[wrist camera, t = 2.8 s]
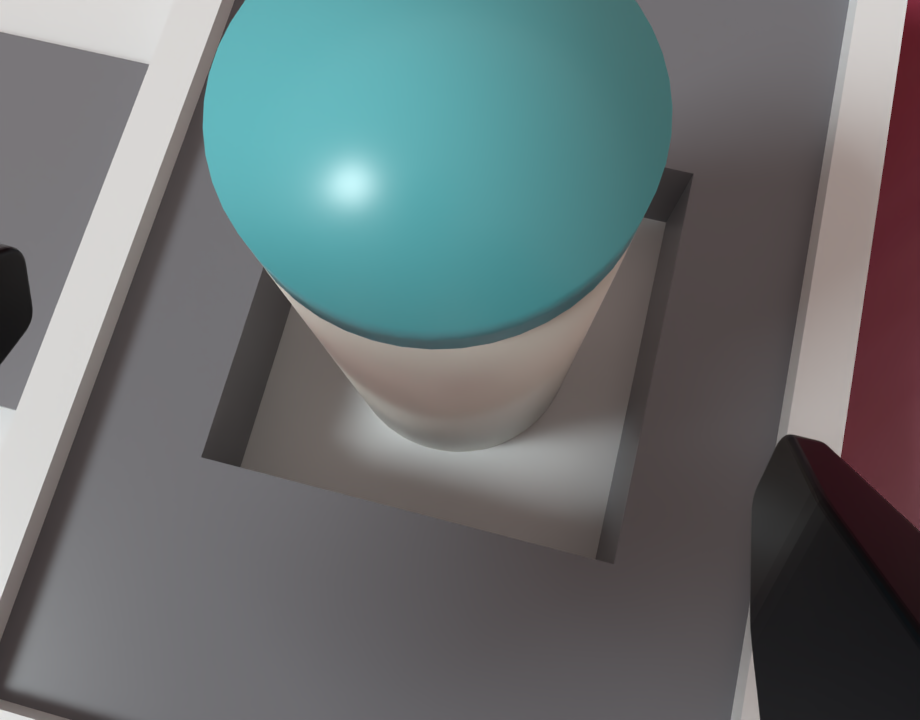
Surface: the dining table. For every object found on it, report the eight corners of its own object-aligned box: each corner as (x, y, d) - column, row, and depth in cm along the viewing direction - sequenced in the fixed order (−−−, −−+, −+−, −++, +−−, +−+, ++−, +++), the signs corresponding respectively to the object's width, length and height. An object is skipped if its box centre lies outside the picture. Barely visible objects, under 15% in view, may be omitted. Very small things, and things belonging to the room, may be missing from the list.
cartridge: (603, 404, 18) (752, 228, 8) (392, 484, 18) (285, 401, 8) (520, 210, 19) (563, -149, 9) (321, 282, 19) (148, -9, 9)
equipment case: (694, 897, 16) (760, 1005, 13) (-479, 556, 19) (-732, 558, 15) (833, 58, 21) (915, -55, 17) (-127, -137, 23) (-251, -277, 19)
